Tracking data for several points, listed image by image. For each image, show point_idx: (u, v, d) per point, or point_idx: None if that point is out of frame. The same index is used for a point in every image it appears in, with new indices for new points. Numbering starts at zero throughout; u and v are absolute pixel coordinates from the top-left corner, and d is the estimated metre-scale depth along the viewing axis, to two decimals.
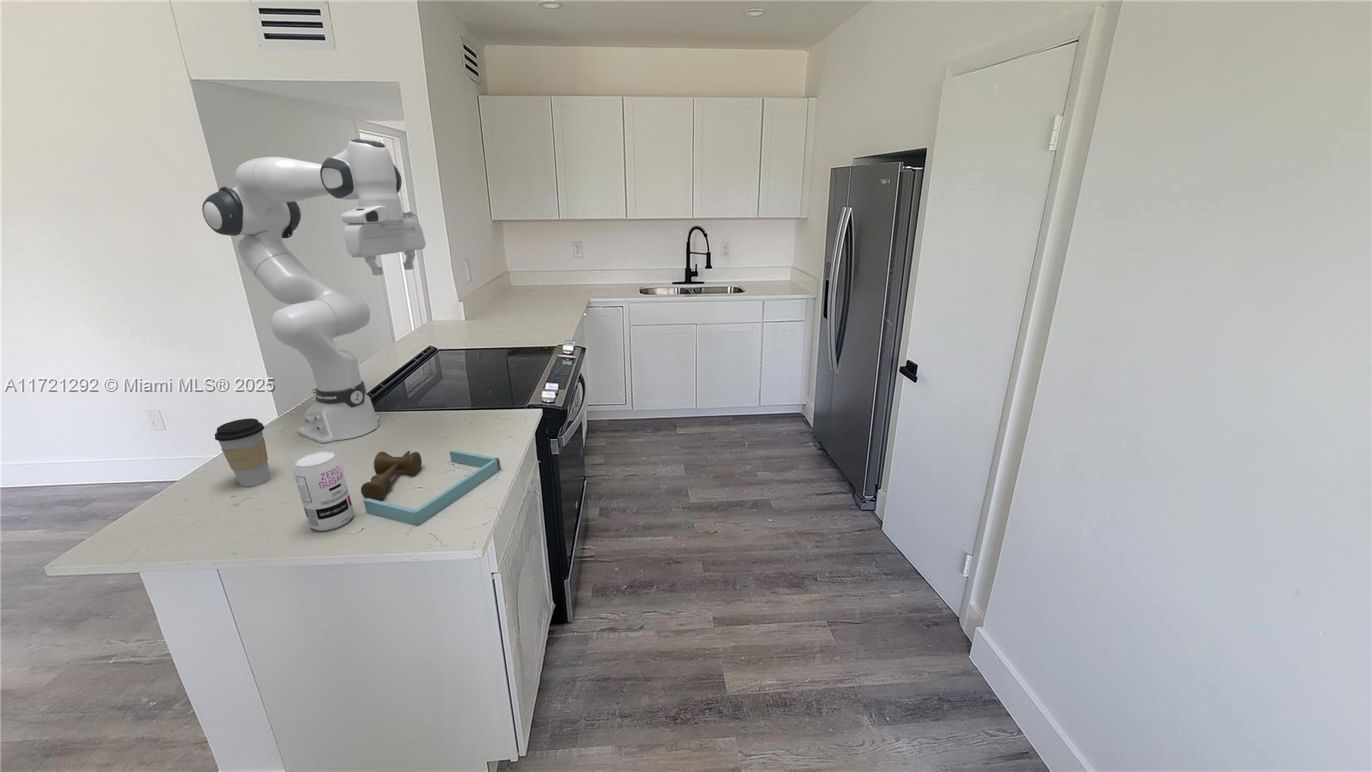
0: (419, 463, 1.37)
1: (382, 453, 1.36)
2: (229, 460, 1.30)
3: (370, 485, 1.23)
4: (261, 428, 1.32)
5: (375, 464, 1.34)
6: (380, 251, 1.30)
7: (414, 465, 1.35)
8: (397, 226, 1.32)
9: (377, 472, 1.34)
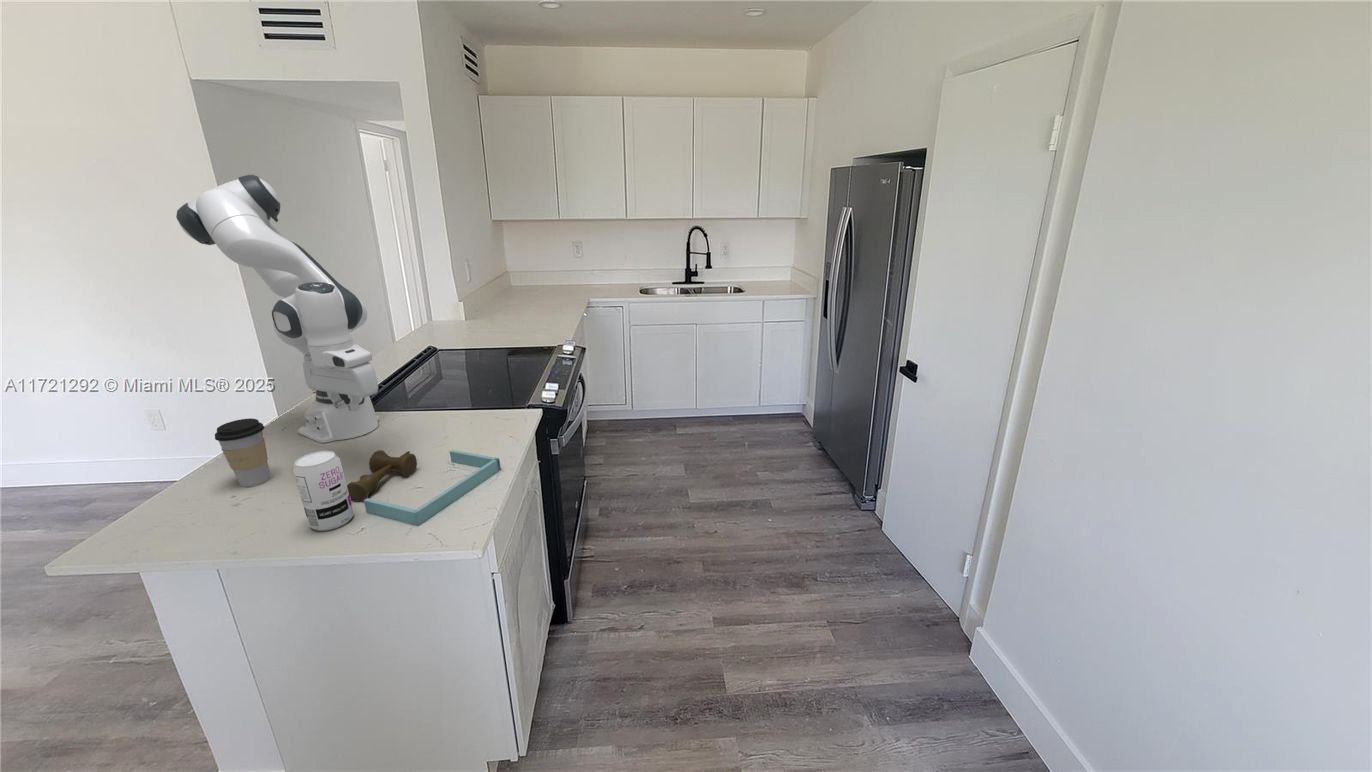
0: (412, 465, 1.36)
1: (379, 452, 1.36)
2: (229, 460, 1.30)
3: (353, 485, 1.24)
4: (261, 428, 1.32)
5: (370, 463, 1.34)
6: None
7: (406, 467, 1.34)
8: None
9: (372, 471, 1.35)
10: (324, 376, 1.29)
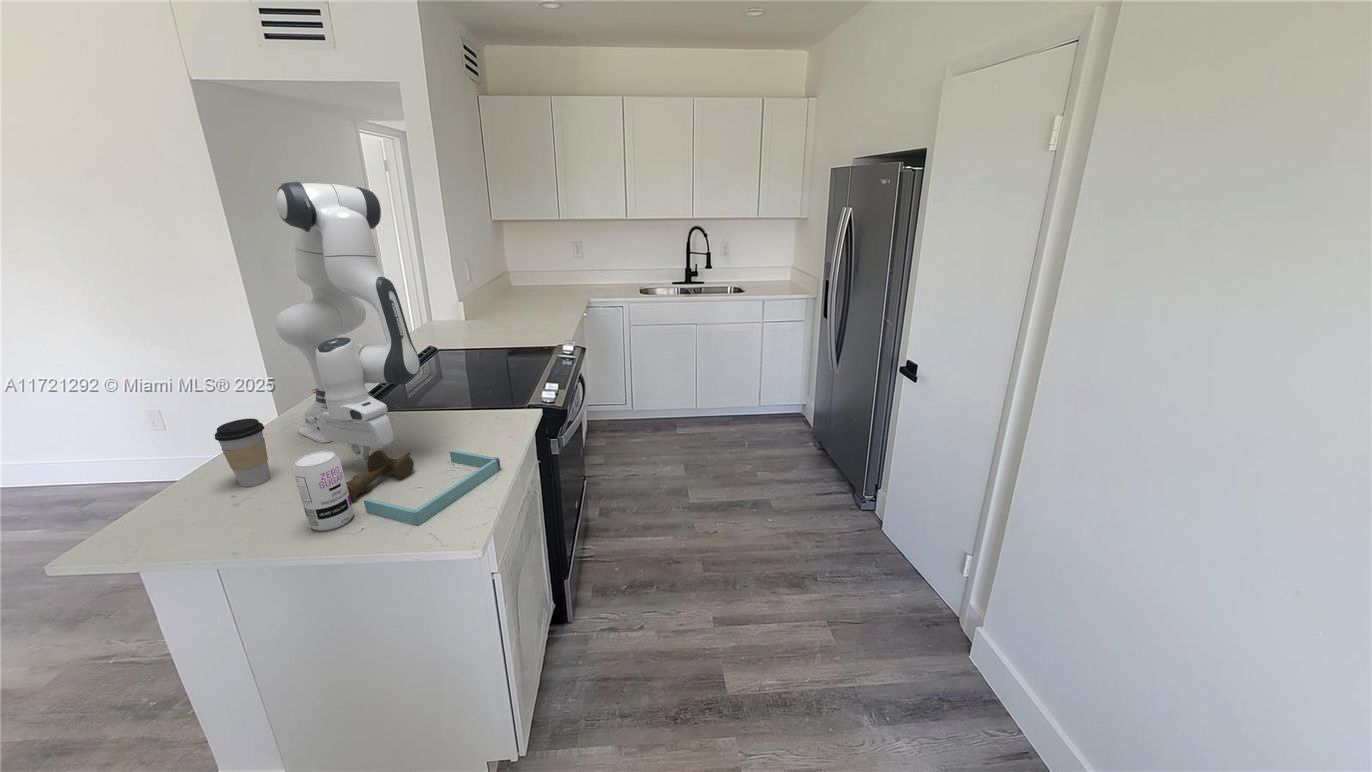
0: (408, 468, 1.35)
1: (378, 452, 1.36)
2: (229, 460, 1.30)
3: None
4: (261, 428, 1.32)
5: (368, 462, 1.34)
6: None
7: (400, 469, 1.33)
8: None
9: (370, 470, 1.35)
10: (340, 428, 1.33)
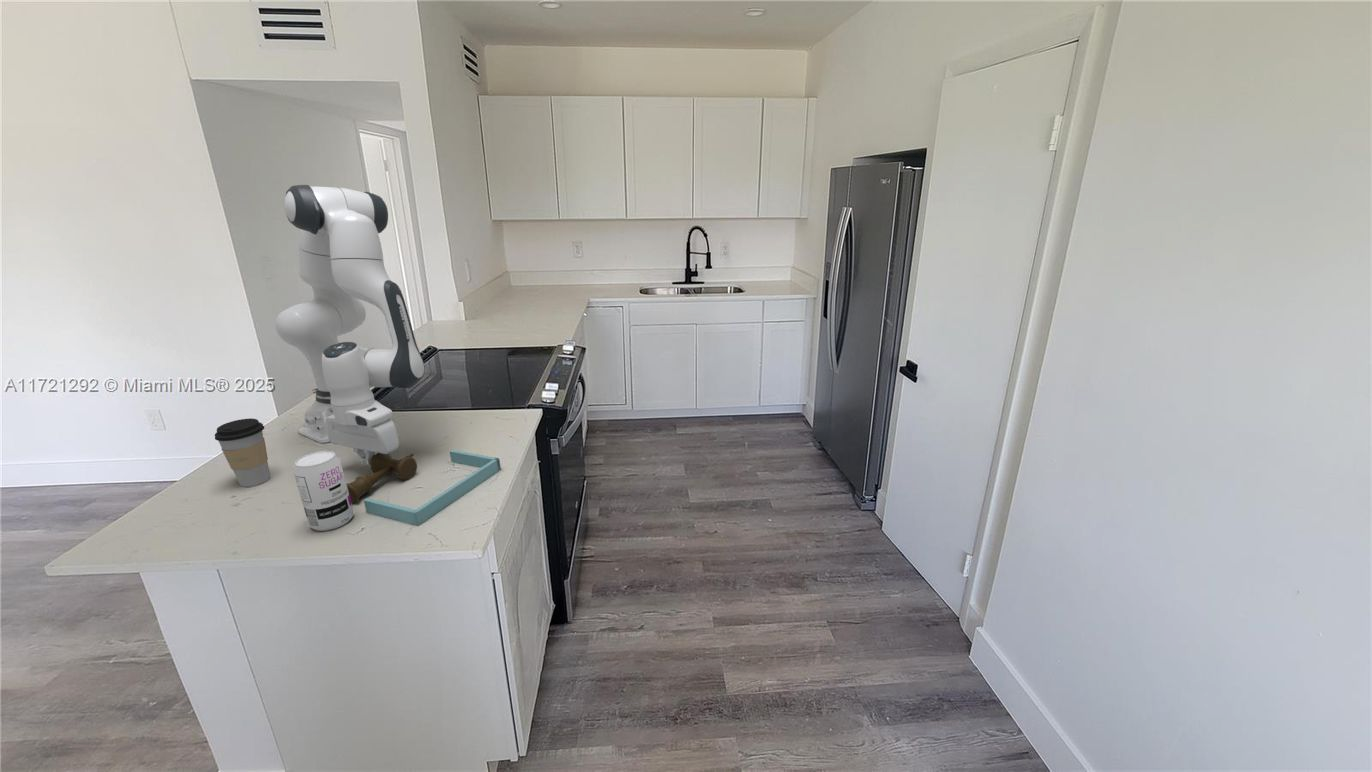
0: (411, 469, 1.34)
1: (381, 453, 1.36)
2: (229, 460, 1.30)
3: None
4: (261, 428, 1.32)
5: (371, 463, 1.34)
6: None
7: (403, 471, 1.32)
8: None
9: (373, 471, 1.35)
10: (346, 432, 1.33)
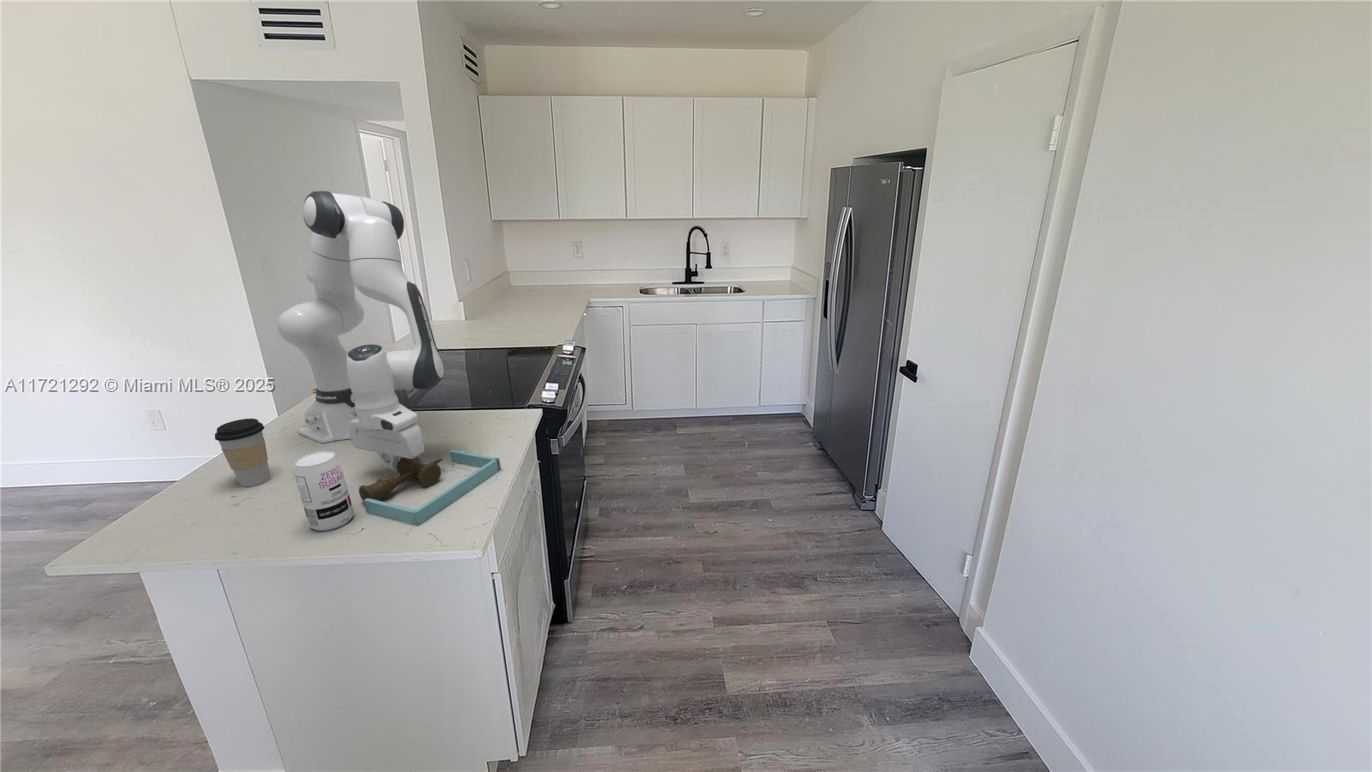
0: (433, 475, 1.31)
1: None
2: (229, 460, 1.30)
3: (362, 489, 1.22)
4: (261, 428, 1.32)
5: (398, 465, 1.32)
6: None
7: (424, 477, 1.29)
8: None
9: (399, 473, 1.33)
10: (370, 436, 1.30)
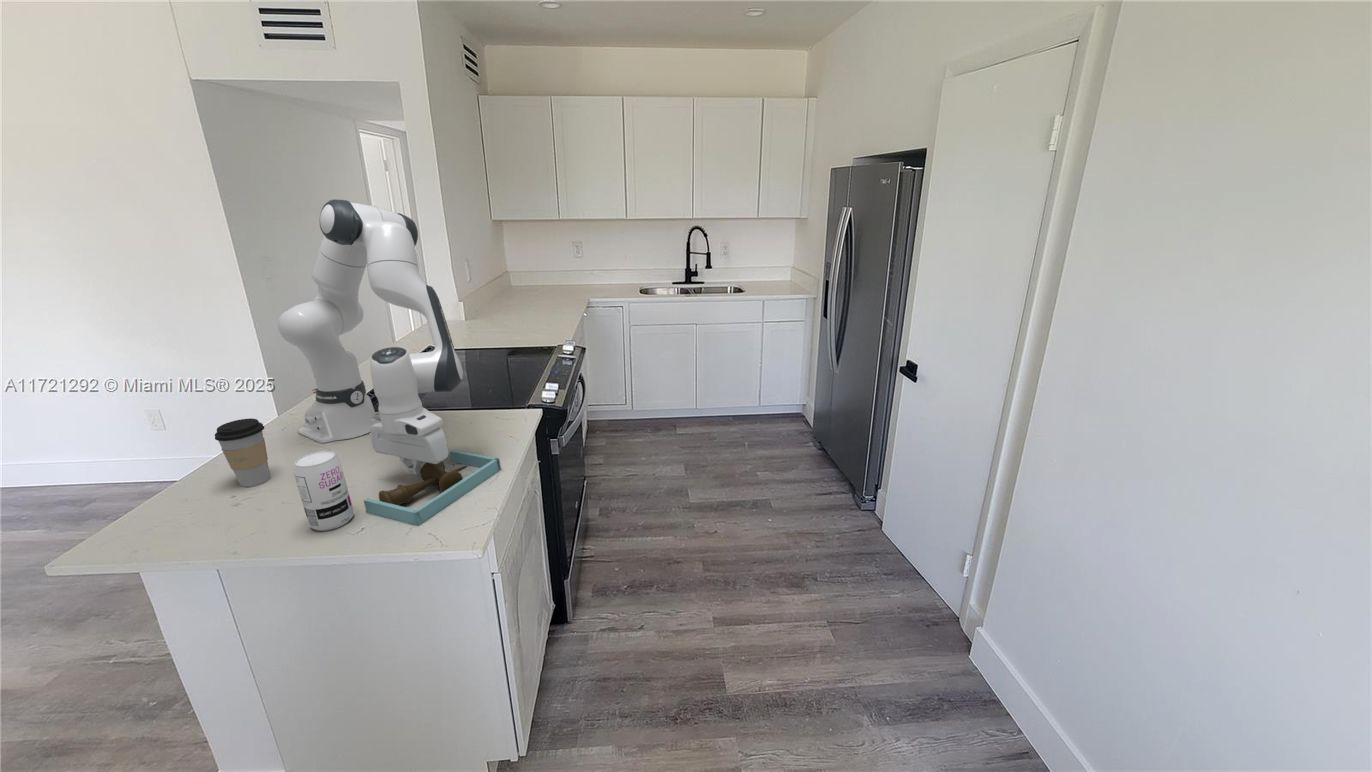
0: (454, 484, 1.27)
1: None
2: (229, 460, 1.30)
3: (381, 495, 1.19)
4: (261, 428, 1.32)
5: (421, 471, 1.30)
6: None
7: (445, 485, 1.25)
8: None
9: (423, 479, 1.30)
10: (393, 441, 1.27)
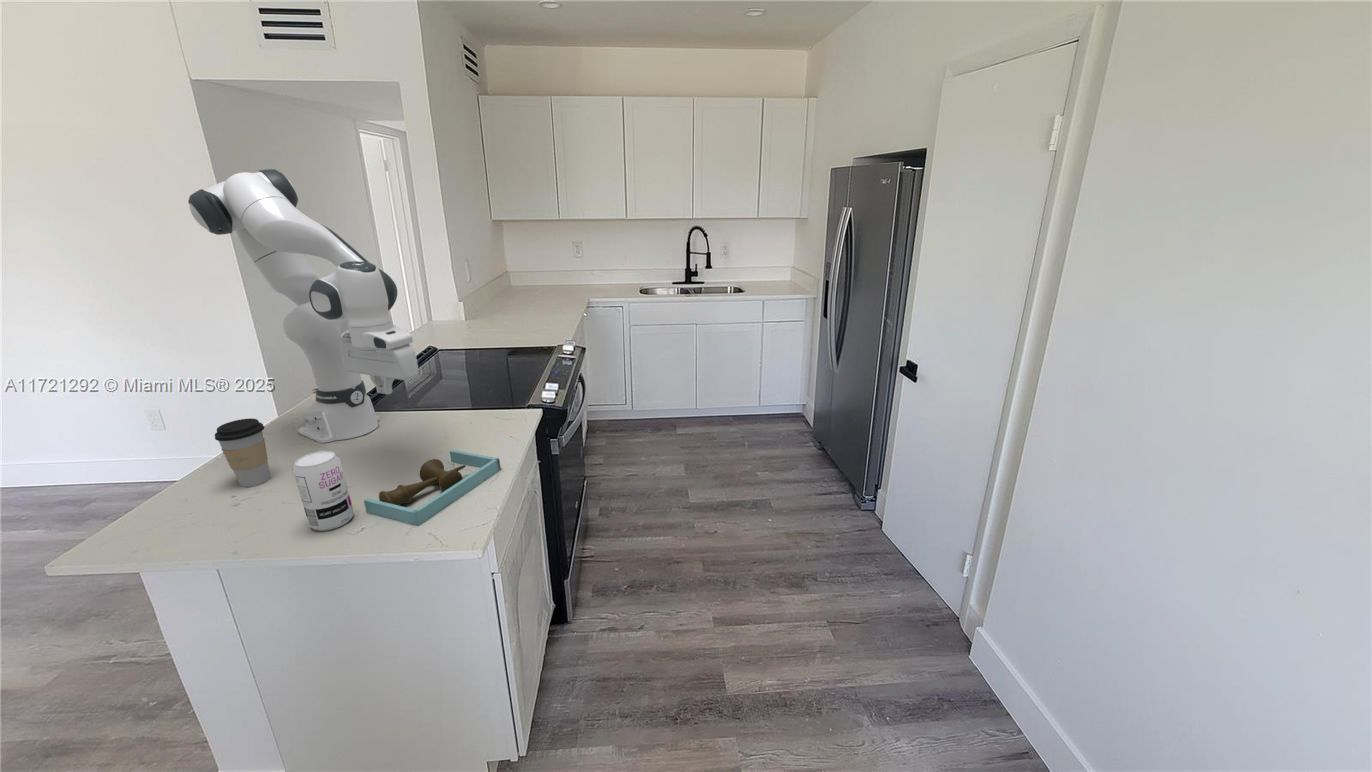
0: (454, 483, 1.27)
1: (432, 461, 1.31)
2: (229, 460, 1.30)
3: (381, 495, 1.19)
4: (261, 428, 1.32)
5: (420, 471, 1.30)
6: None
7: (445, 484, 1.26)
8: None
9: (422, 479, 1.30)
10: (362, 358, 1.26)
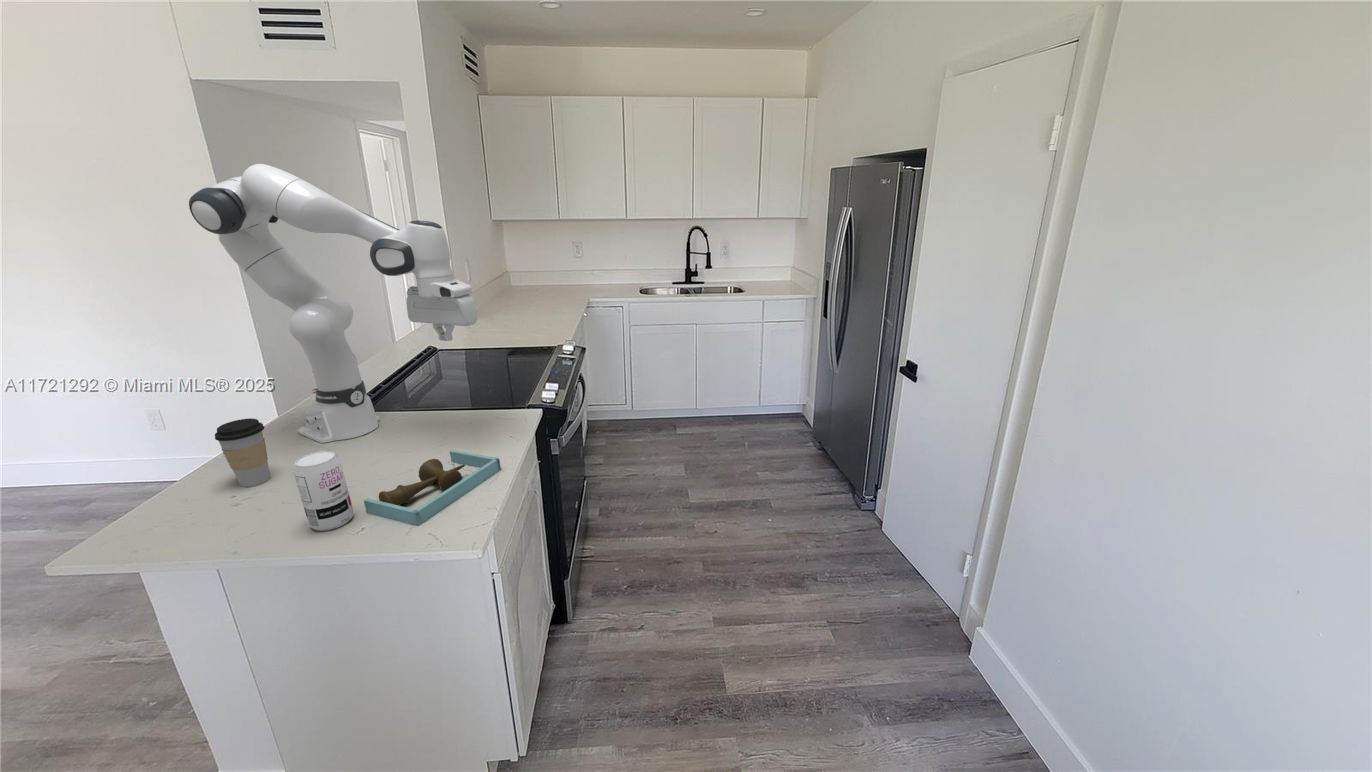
0: (454, 483, 1.28)
1: (431, 461, 1.31)
2: (229, 460, 1.30)
3: (382, 495, 1.19)
4: (261, 428, 1.32)
5: (419, 471, 1.30)
6: None
7: (445, 484, 1.26)
8: None
9: (421, 479, 1.30)
10: (427, 308, 1.41)
